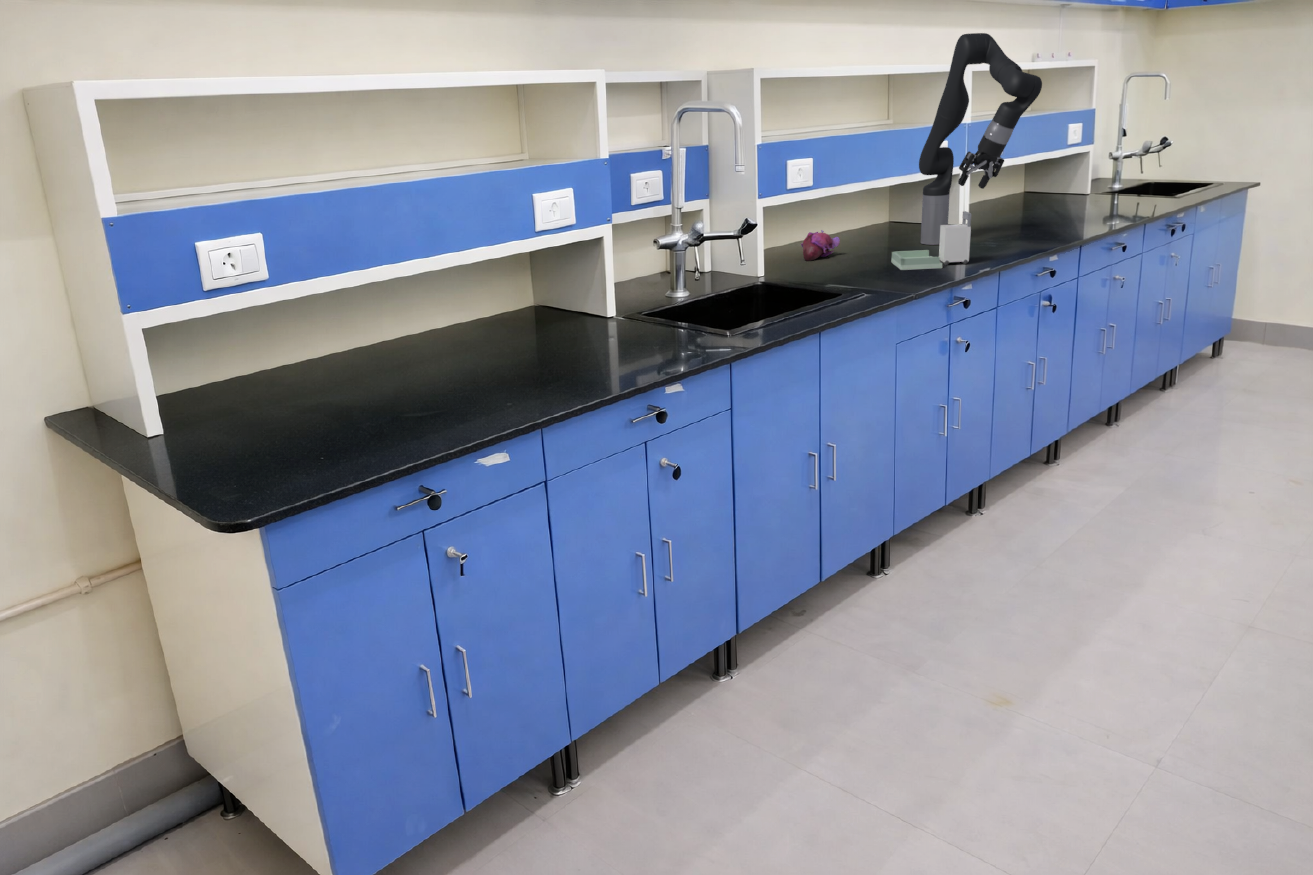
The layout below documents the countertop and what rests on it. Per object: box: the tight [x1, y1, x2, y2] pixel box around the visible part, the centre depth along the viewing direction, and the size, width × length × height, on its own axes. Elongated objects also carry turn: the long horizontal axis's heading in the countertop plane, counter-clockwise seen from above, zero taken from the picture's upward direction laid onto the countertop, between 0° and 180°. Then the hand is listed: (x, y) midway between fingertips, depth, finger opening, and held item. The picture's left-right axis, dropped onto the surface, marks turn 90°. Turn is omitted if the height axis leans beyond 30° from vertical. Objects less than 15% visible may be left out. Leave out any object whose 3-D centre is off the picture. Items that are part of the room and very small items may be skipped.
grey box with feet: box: [938, 210, 972, 266], centre depth 314 cm, size 6×8×16 cm
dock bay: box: [890, 249, 943, 271], centre depth 316 cm, size 14×13×4 cm
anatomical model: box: [800, 229, 841, 262], centre depth 337 cm, size 12×10×15 cm
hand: (970, 186), depth 307 cm, fingers open, 8 cm apart
